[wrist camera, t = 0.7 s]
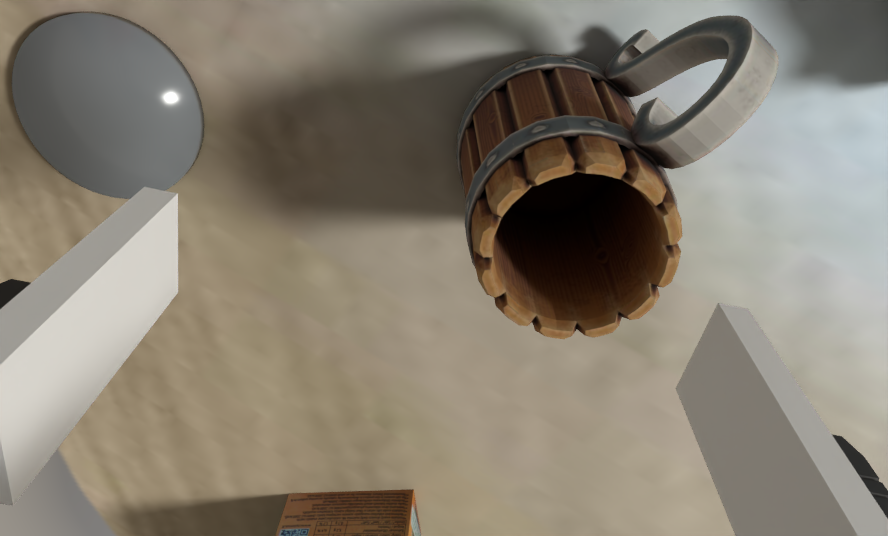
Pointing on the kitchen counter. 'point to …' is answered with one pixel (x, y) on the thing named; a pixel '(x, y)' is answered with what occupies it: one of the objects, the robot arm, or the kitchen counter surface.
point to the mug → (595, 172)
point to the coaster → (107, 104)
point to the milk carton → (350, 514)
